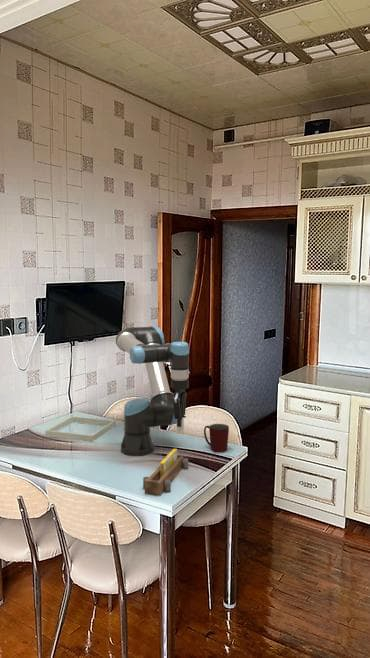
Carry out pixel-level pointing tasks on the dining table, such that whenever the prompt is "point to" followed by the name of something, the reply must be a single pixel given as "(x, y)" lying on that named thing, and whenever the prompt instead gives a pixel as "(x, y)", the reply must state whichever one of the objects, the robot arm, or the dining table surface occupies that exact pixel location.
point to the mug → (217, 437)
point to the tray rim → (54, 433)
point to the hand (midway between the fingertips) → (180, 433)
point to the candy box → (168, 462)
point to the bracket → (163, 478)
